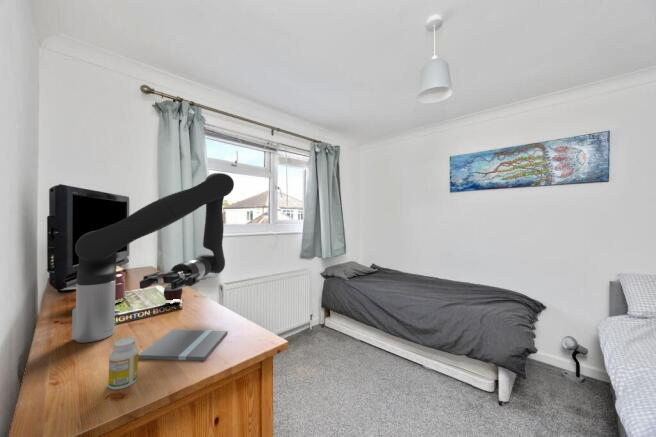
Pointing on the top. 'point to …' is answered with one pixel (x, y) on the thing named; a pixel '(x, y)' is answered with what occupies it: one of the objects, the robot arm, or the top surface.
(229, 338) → the top surface
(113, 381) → the supplement bottle
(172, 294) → the mate gourd
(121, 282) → the canister
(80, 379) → the top surface
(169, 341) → the floor panel
